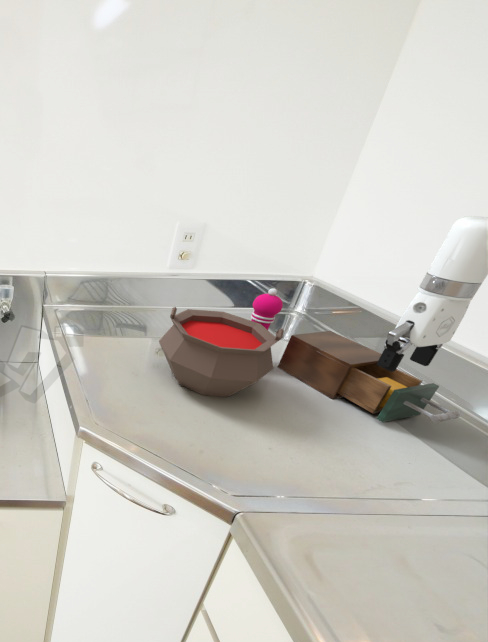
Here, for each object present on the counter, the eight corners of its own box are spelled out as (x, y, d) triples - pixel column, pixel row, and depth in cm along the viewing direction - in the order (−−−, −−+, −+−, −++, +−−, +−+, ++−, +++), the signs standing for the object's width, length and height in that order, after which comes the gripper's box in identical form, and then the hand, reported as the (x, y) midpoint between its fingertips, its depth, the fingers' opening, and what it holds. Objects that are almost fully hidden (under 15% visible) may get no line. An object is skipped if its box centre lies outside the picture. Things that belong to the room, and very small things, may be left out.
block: (376, 394, 94) (386, 376, 92) (398, 405, 90) (409, 388, 88) (362, 396, 93) (372, 379, 91) (383, 408, 89) (394, 390, 87)
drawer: (455, 433, 84) (477, 403, 81) (415, 441, 81) (437, 411, 78) (356, 381, 101) (371, 354, 97) (320, 386, 98) (334, 359, 94)
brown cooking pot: (259, 371, 105) (284, 310, 97) (264, 423, 86) (297, 353, 78) (158, 347, 114) (174, 289, 106) (143, 389, 95) (161, 323, 87)
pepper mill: (233, 367, 106) (262, 291, 96) (226, 354, 112) (252, 281, 102) (264, 371, 105) (297, 295, 95) (255, 358, 111) (285, 285, 101)
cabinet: (372, 392, 98) (392, 358, 94) (332, 399, 95) (351, 364, 91) (314, 361, 110) (330, 330, 106) (277, 367, 107) (291, 334, 103)
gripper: (440, 296, 74) (391, 380, 82) (504, 290, 78) (451, 369, 86) (393, 283, 80) (353, 361, 88) (455, 277, 84) (410, 352, 93)
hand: (402, 365), depth 87 cm, fingers open, 9 cm apart
